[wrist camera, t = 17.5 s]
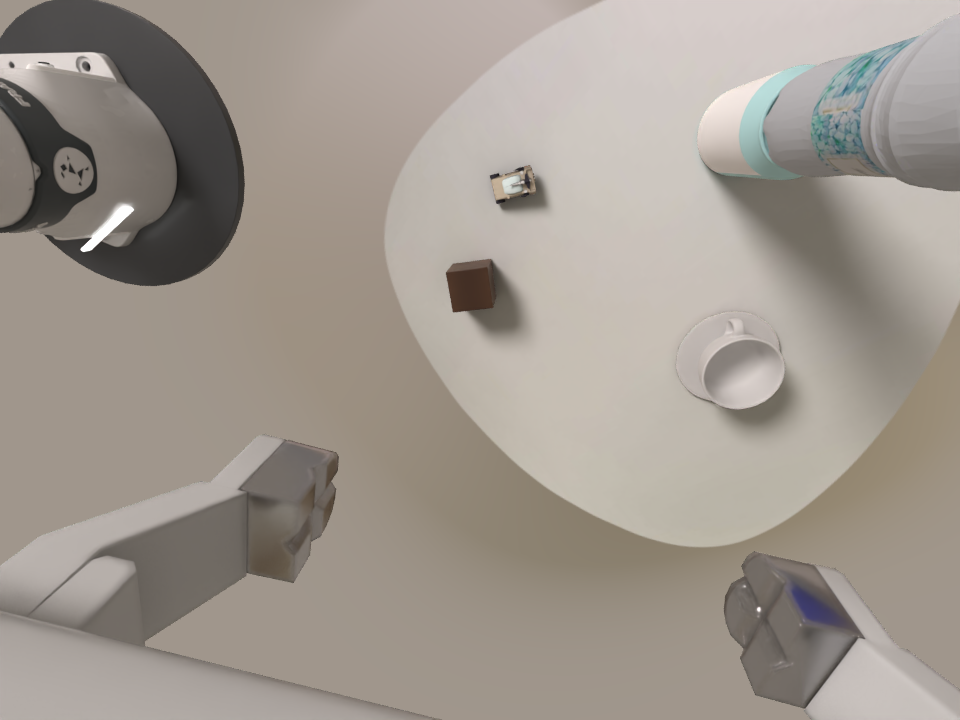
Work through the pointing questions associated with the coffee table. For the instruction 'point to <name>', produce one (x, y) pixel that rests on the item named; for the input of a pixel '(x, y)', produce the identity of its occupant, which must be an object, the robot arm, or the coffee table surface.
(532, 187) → the toy car
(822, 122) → the bottle
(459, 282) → the walnut block
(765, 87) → the can
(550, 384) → the coffee table surface
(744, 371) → the teacup
